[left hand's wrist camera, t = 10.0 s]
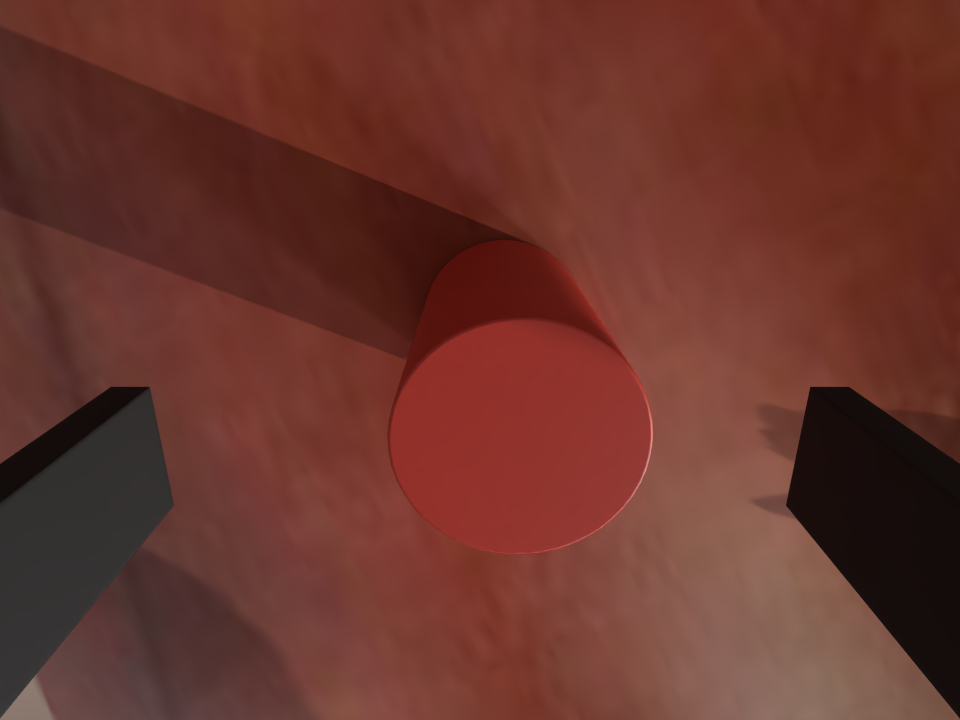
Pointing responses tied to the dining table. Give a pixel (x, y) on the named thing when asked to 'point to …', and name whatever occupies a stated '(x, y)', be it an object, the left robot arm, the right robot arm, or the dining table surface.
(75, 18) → the dining table surface
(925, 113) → the dining table surface
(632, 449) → the canister
